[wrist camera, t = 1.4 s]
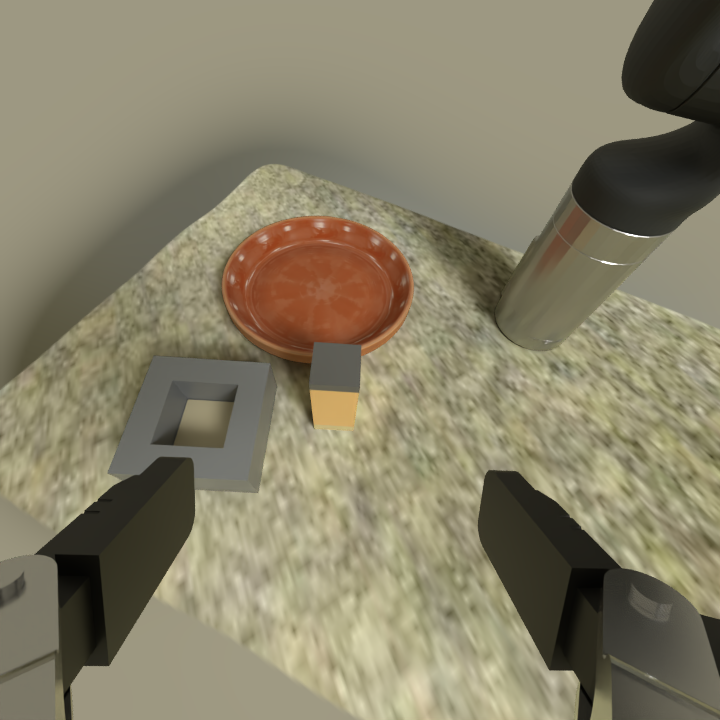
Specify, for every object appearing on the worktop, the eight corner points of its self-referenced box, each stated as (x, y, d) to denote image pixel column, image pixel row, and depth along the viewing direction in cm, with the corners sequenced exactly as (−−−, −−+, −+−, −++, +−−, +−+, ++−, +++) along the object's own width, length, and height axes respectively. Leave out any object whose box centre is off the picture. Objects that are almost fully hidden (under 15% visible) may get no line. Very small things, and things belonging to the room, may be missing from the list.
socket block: (173, 380, 38) (153, 355, 34) (276, 386, 39) (270, 363, 34) (136, 486, 33) (107, 473, 28) (258, 492, 33) (247, 480, 29)
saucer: (301, 215, 54) (299, 193, 51) (437, 279, 49) (444, 259, 46) (188, 313, 43) (177, 292, 40) (348, 409, 38) (349, 393, 35)
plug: (318, 393, 39) (314, 341, 30) (354, 395, 39) (361, 345, 30) (314, 428, 37) (308, 384, 28) (353, 431, 37) (359, 387, 28)
